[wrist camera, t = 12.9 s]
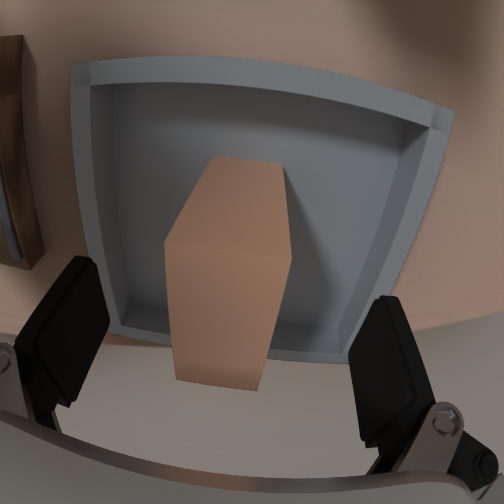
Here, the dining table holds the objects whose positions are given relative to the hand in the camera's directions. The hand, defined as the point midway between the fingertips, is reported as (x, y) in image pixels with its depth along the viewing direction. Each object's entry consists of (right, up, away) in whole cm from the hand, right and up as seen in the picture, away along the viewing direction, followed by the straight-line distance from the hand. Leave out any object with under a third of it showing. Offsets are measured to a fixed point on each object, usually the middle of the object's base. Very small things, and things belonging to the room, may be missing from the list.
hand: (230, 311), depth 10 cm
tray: (0, +4, +5) cm, 6 cm away
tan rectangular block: (0, +3, +5) cm, 6 cm away
